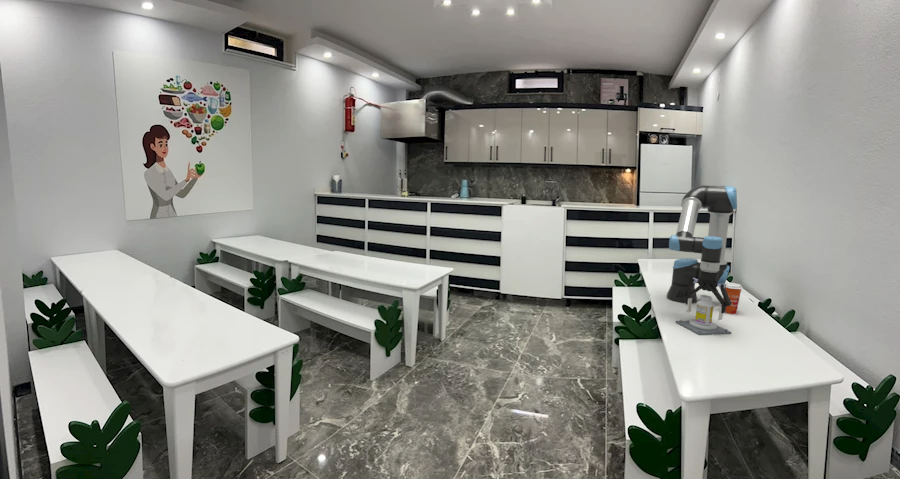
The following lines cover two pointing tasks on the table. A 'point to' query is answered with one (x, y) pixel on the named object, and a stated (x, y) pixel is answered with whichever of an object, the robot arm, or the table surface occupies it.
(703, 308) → the supplement bottle
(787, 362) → the table surface
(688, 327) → the flange
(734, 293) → the coffee cup
